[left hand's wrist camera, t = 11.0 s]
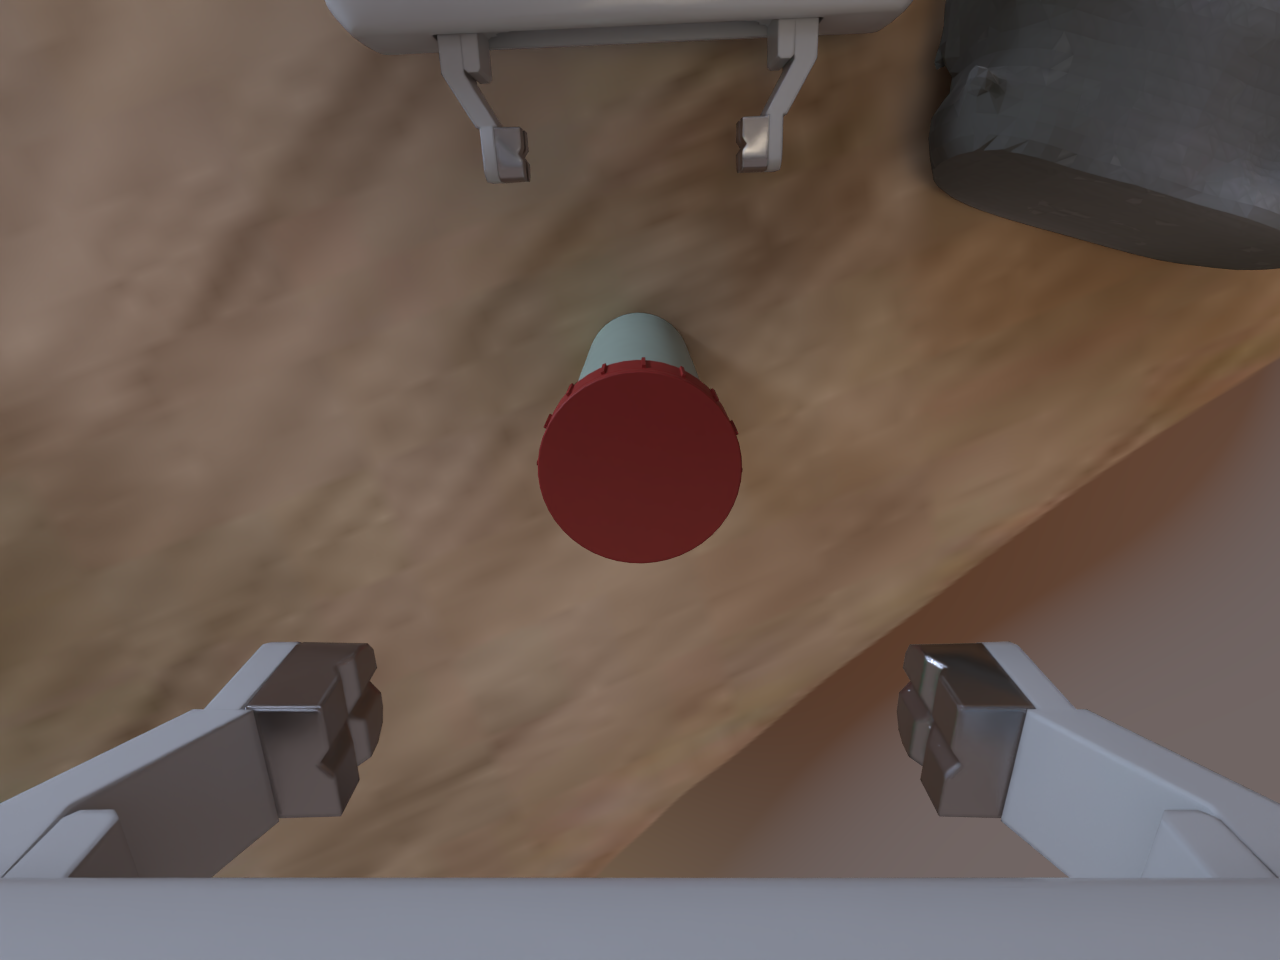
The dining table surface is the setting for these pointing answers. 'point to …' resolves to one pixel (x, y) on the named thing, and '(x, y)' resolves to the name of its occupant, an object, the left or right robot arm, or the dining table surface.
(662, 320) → the jar
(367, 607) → the dining table surface
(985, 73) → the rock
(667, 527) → the lid
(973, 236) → the dining table surface
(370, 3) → the right robot arm
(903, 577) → the dining table surface
